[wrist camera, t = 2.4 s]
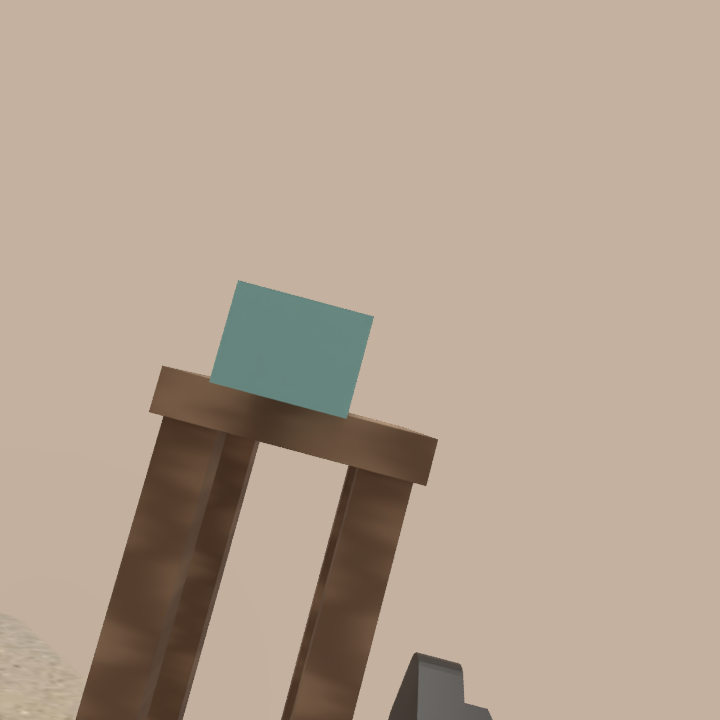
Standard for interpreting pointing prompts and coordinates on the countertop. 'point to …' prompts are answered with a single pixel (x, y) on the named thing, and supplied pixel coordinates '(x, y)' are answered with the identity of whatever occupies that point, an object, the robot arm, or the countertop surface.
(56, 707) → the countertop surface
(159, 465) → the walnut stand
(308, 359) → the teal block
